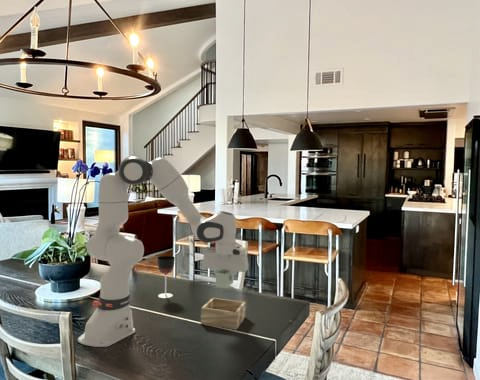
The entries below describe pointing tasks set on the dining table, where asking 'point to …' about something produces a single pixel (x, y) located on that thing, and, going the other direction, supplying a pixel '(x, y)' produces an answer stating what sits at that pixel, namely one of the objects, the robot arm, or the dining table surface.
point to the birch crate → (223, 313)
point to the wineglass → (165, 270)
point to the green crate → (223, 278)
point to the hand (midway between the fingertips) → (224, 279)
